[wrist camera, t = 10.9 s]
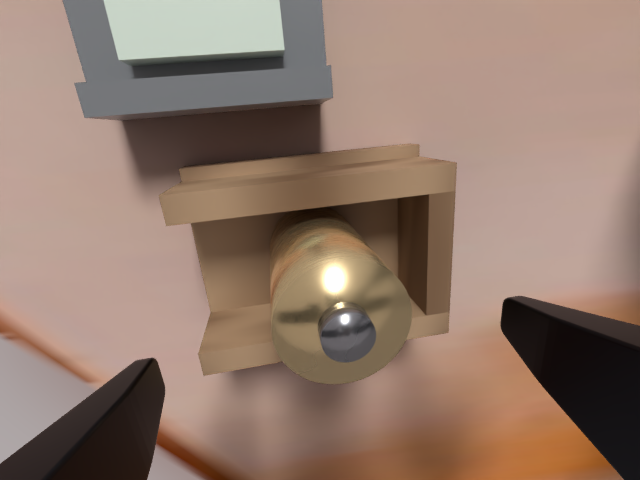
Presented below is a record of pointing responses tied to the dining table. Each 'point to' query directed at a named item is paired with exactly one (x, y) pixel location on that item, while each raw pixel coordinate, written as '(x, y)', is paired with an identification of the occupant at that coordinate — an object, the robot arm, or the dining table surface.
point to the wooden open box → (305, 193)
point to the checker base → (199, 71)
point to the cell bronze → (333, 299)
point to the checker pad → (194, 30)
